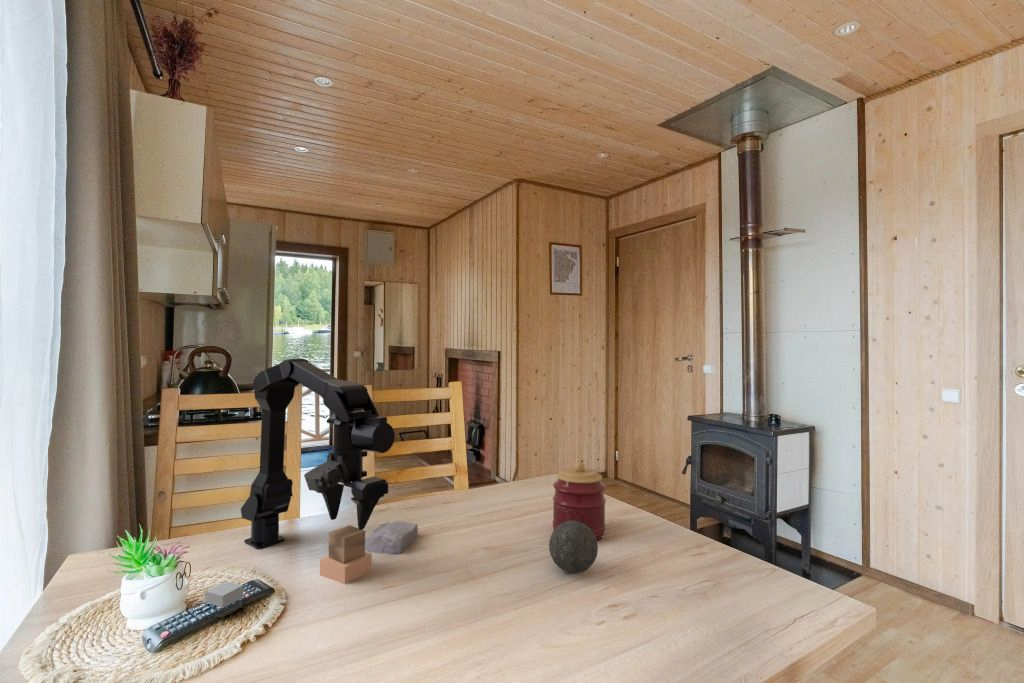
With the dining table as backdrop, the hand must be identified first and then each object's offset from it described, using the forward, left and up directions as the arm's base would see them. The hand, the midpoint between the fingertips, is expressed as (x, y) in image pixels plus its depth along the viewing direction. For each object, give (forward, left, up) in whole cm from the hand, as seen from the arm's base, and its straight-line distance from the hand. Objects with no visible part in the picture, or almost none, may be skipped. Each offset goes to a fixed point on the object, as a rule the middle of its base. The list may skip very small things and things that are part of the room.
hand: (347, 524), depth 101 cm
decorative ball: (+36, +29, -10) cm, 47 cm away
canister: (+27, +48, -10) cm, 56 cm away
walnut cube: (0, 0, -7) cm, 7 cm away
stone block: (-5, +15, -10) cm, 19 cm away
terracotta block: (0, 0, -10) cm, 10 cm away
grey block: (-4, -22, -10) cm, 24 cm away
